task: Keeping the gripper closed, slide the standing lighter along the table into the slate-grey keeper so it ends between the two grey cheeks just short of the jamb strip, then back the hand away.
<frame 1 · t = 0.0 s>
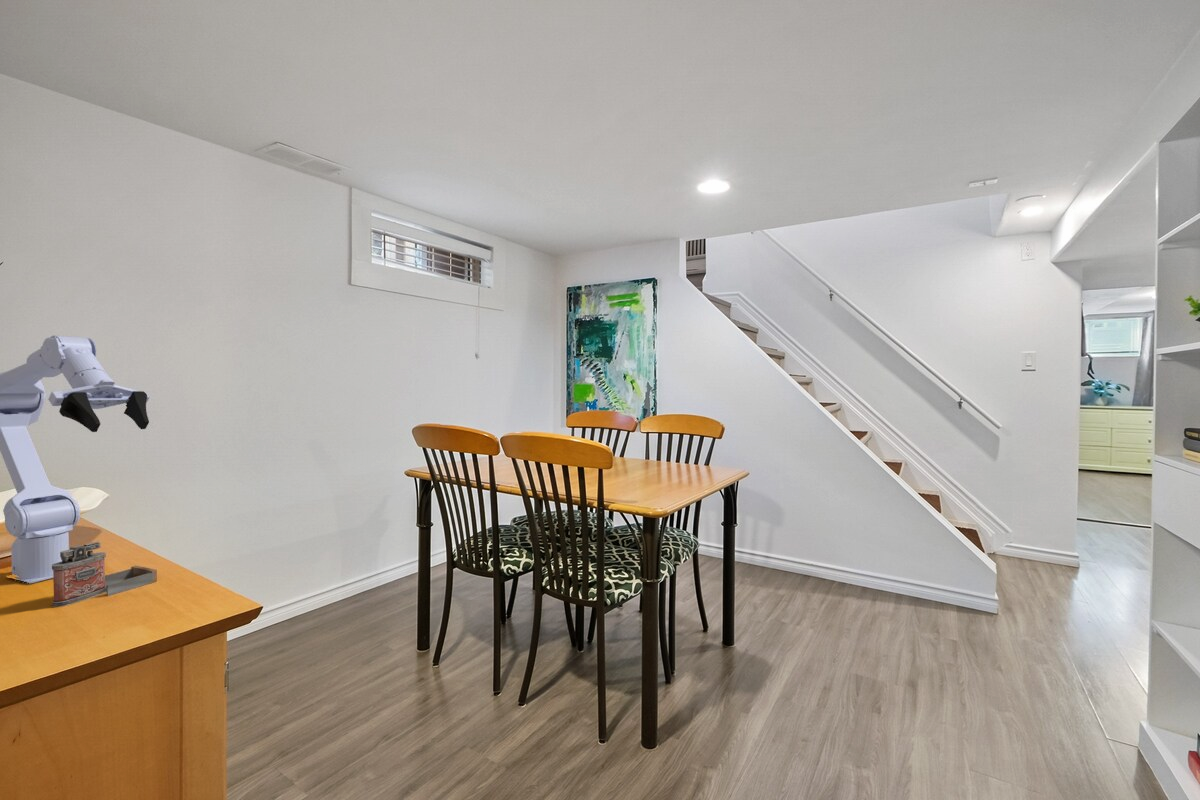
hand: (121, 426, 99), 32 cm above the table, tool tilted 50°, fingers open, 7 cm apart
keeper: (122, 586, 104), on the table
lighter: (80, 599, 98), on the table
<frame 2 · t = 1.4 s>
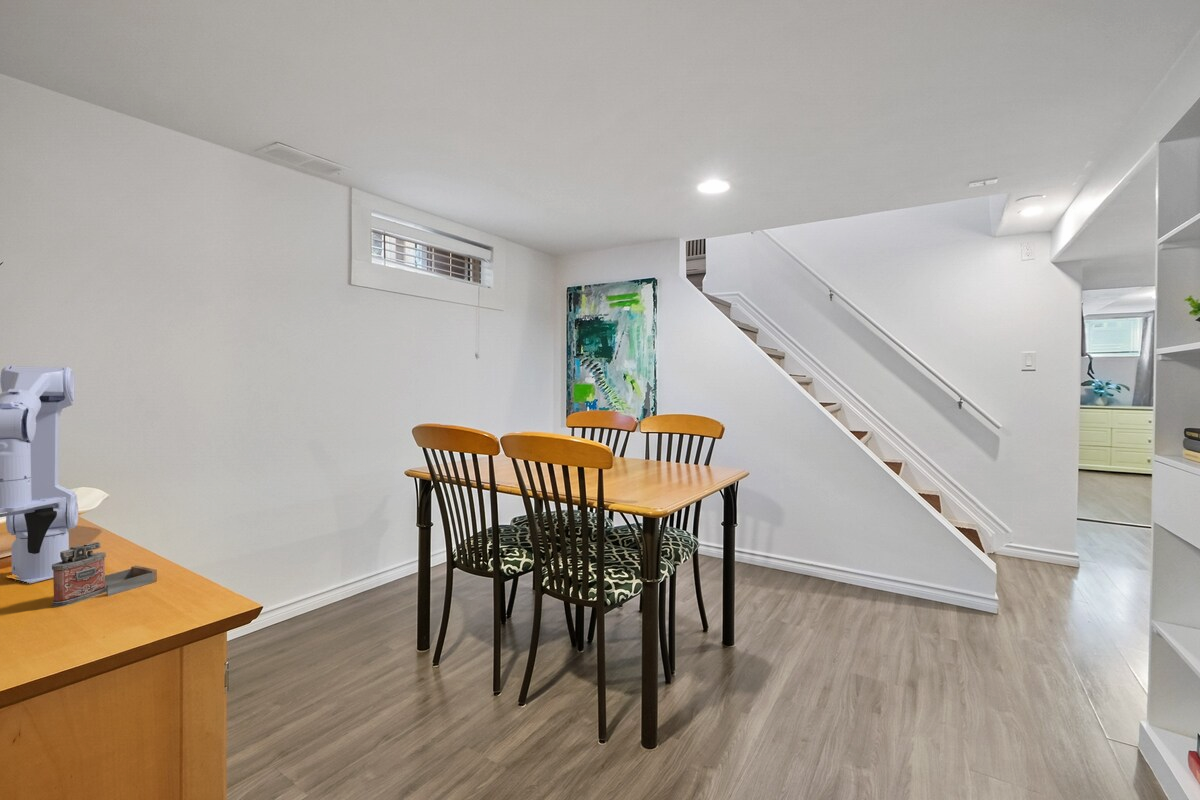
hand: (8, 558, 89), 10 cm above the table, tool pointing down, fingers open, 6 cm apart
nothing on the table moved.
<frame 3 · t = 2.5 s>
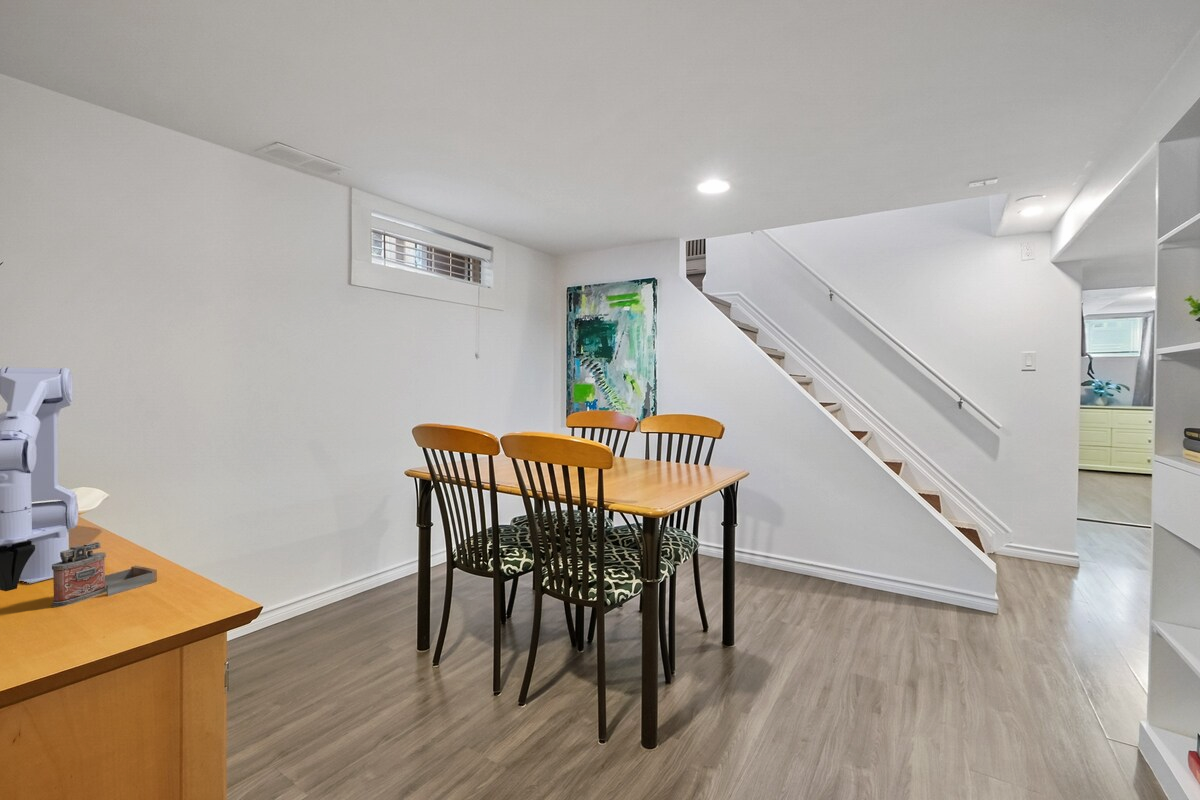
hand: (8, 589, 89), 5 cm above the table, tool pointing down, fingers closed
nothing on the table moved.
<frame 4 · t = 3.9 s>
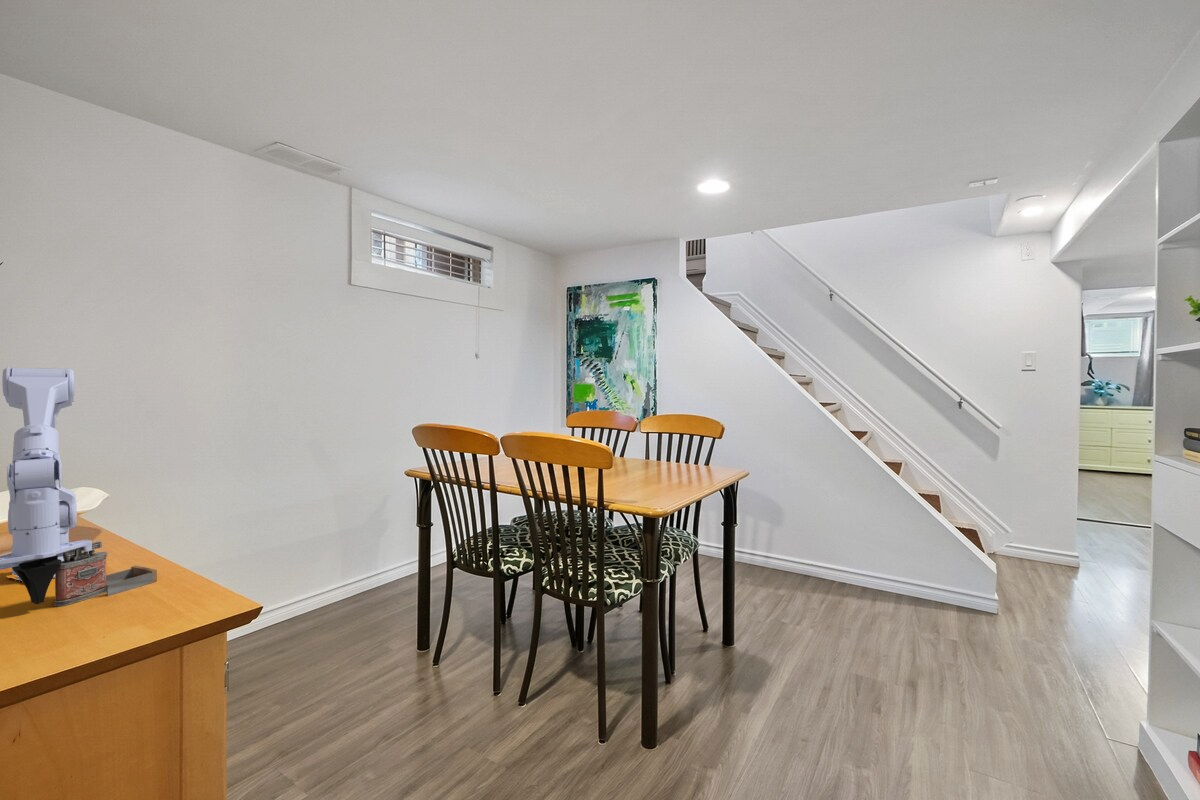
hand: (37, 602, 93), 1 cm above the table, tool pointing down, fingers closed
lighter: (81, 598, 99), on the table, touching gripper
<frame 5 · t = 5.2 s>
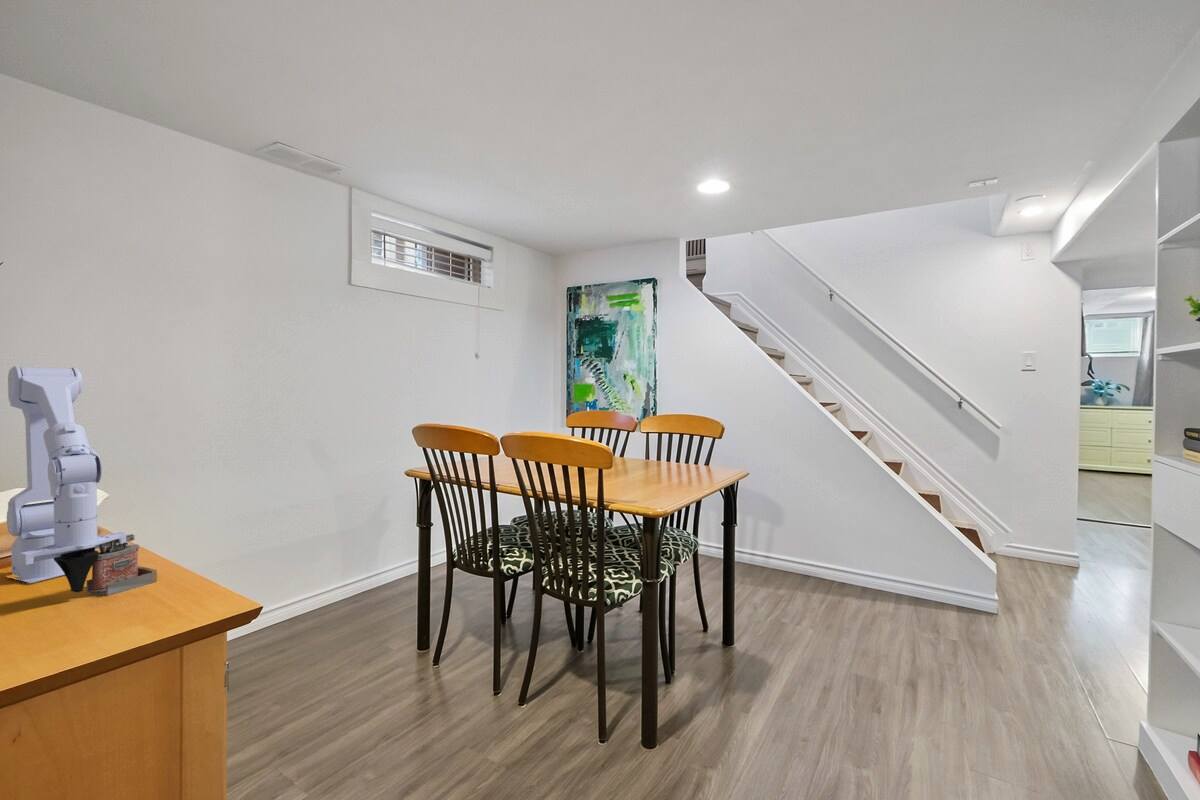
hand: (77, 591, 98), 1 cm above the table, tool pointing down, fingers closed
lighter: (115, 588, 104), on the table, touching gripper
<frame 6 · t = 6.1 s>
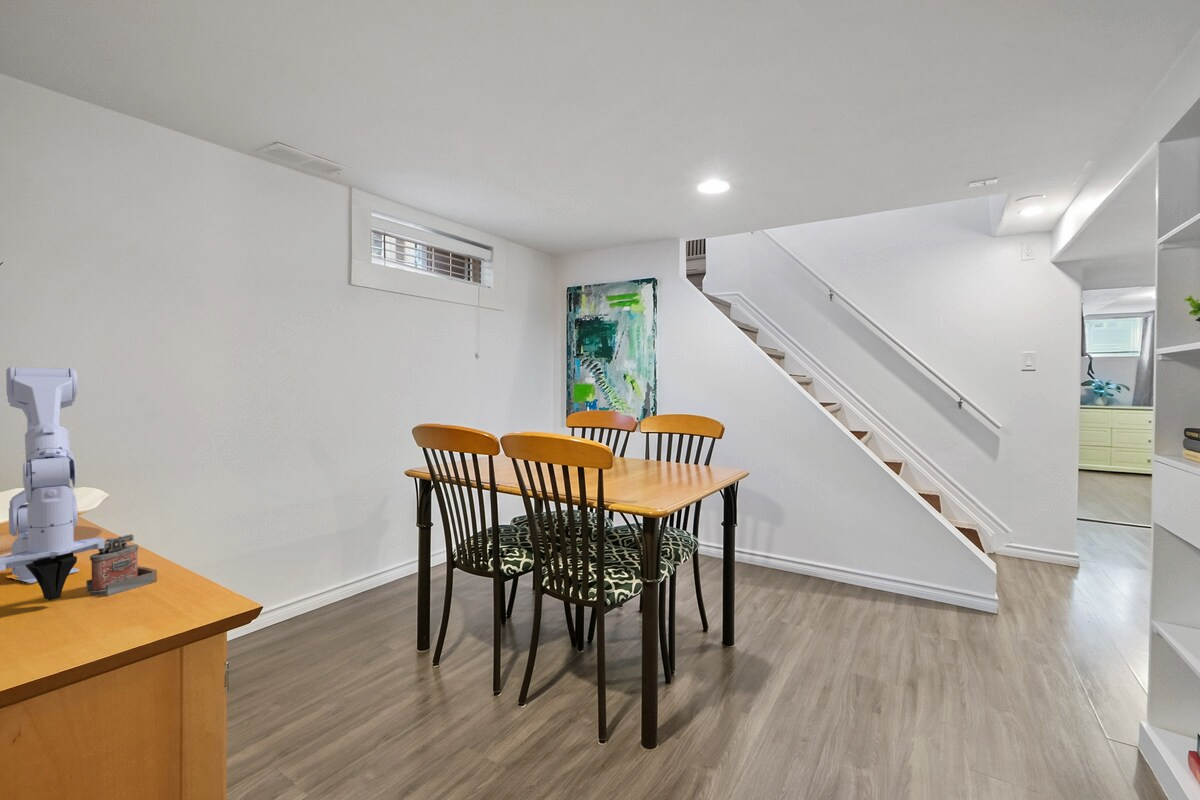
hand: (52, 598, 95), 1 cm above the table, tool pointing down, fingers closed
lighter: (115, 588, 104), on the table
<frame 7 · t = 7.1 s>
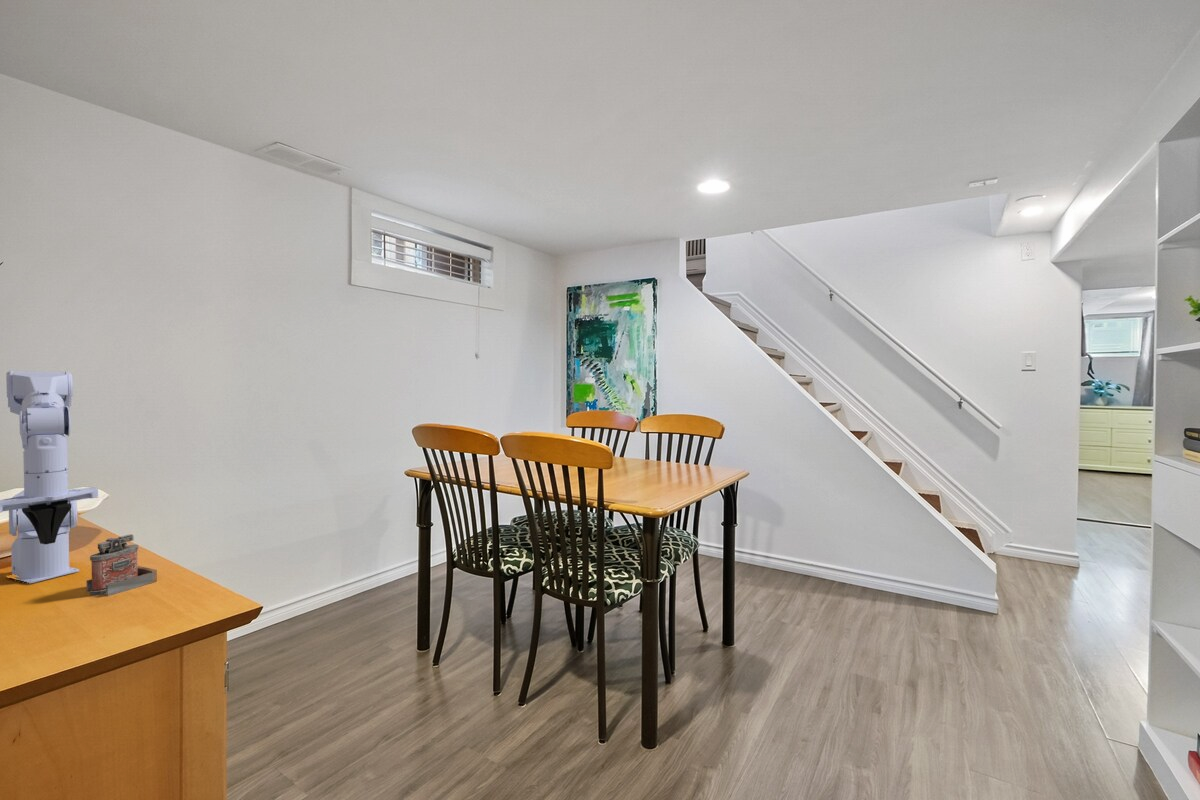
hand: (47, 543, 98), 10 cm above the table, tool pointing down, fingers closed
nothing on the table moved.
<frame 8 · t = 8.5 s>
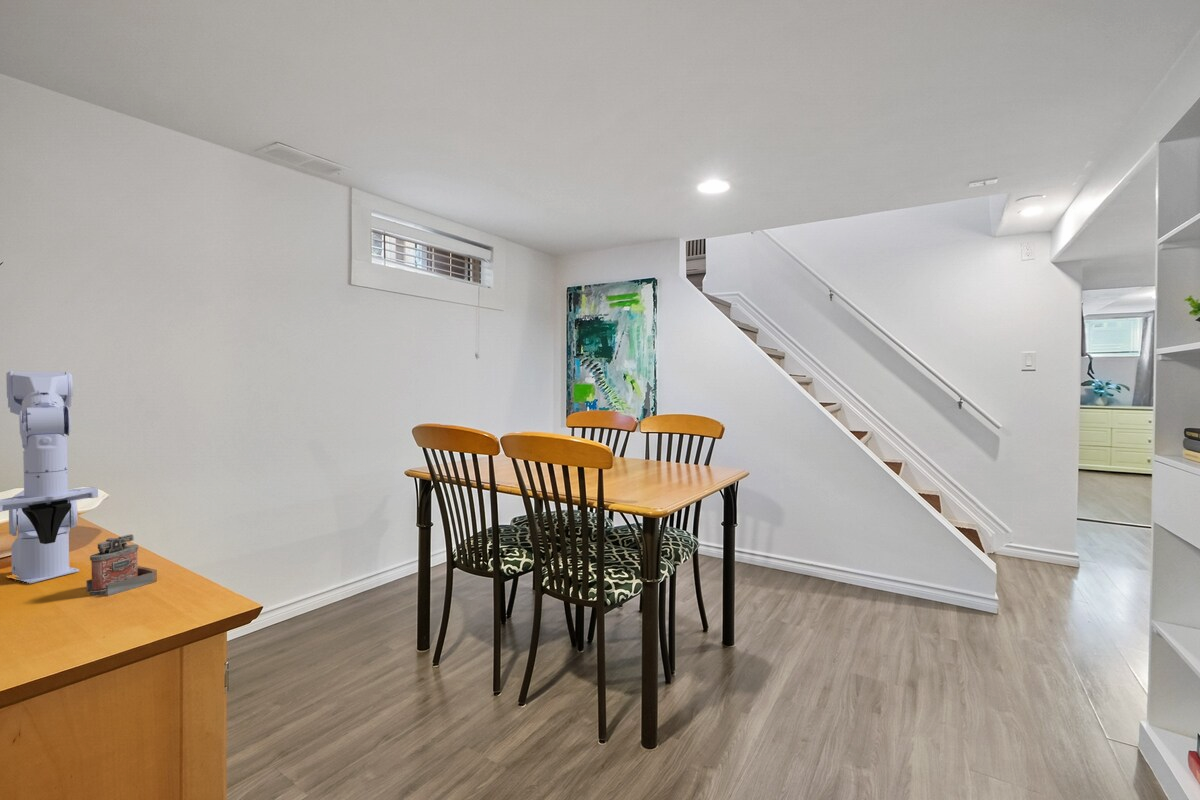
hand: (47, 542, 99), 10 cm above the table, tool pointing down, fingers closed
nothing on the table moved.
at the end: lighter 0.3 cm off-centre on the keeper, point 0.0 cm above the keeper's base; lighter tilted 0°; lighter moved 5.5 cm from its start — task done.
